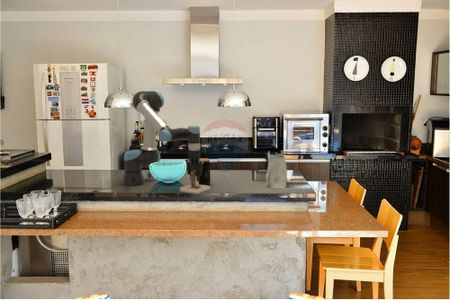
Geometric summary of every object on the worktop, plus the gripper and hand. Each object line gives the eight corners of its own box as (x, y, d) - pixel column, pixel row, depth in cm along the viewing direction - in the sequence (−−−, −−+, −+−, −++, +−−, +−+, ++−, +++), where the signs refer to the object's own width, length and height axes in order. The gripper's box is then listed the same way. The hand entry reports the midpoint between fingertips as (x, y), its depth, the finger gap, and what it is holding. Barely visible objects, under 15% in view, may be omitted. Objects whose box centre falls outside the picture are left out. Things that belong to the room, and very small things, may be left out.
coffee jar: (208, 187, 296) (208, 160, 294) (193, 186, 298) (192, 160, 296) (211, 184, 306) (211, 158, 304) (197, 183, 309) (196, 158, 306)
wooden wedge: (191, 190, 285) (191, 171, 283) (195, 188, 289) (195, 170, 287) (194, 190, 283) (194, 172, 282) (198, 189, 287) (198, 171, 286)
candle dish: (179, 191, 284) (179, 187, 284) (192, 187, 296) (192, 183, 295) (197, 194, 277) (197, 189, 276) (209, 189, 288) (209, 185, 288)
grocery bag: (265, 178, 325) (265, 147, 322) (284, 178, 324) (284, 147, 321) (266, 188, 293) (266, 153, 290) (287, 188, 292) (287, 153, 289)
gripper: (181, 149, 284) (181, 185, 287) (201, 151, 275) (201, 188, 278) (188, 148, 290) (188, 183, 293) (207, 149, 282) (208, 185, 285)
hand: (194, 185), depth 286 cm, fingers closed on wooden wedge, 3 cm apart
